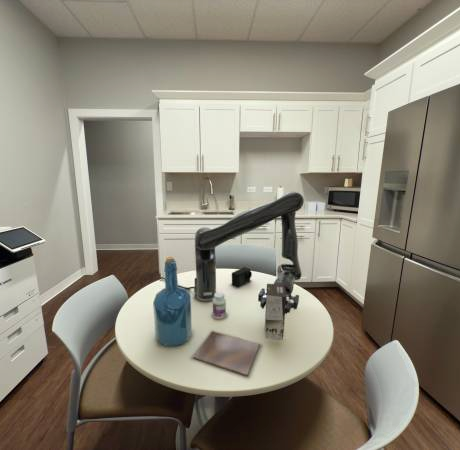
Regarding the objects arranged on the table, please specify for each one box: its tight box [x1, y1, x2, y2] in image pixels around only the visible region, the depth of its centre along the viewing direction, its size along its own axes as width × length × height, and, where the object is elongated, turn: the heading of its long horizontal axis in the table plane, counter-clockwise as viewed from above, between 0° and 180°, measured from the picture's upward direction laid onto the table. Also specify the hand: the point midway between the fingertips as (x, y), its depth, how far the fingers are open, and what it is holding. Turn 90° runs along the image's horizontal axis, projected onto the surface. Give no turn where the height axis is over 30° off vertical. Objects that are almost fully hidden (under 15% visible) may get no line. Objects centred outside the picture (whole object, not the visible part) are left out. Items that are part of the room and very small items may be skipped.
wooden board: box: [193, 331, 260, 377], centre depth 83 cm, size 18×14×1 cm
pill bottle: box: [212, 291, 227, 320], centre depth 102 cm, size 5×5×10 cm
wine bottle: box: [152, 256, 193, 347], centre depth 88 cm, size 14×13×30 cm
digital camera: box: [231, 266, 253, 288], centre depth 131 cm, size 10×5×7 cm, turn 136°
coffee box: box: [264, 283, 286, 342], centre depth 86 cm, size 9×6×16 cm
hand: (274, 308), depth 83 cm, fingers closed on coffee box, 7 cm apart
